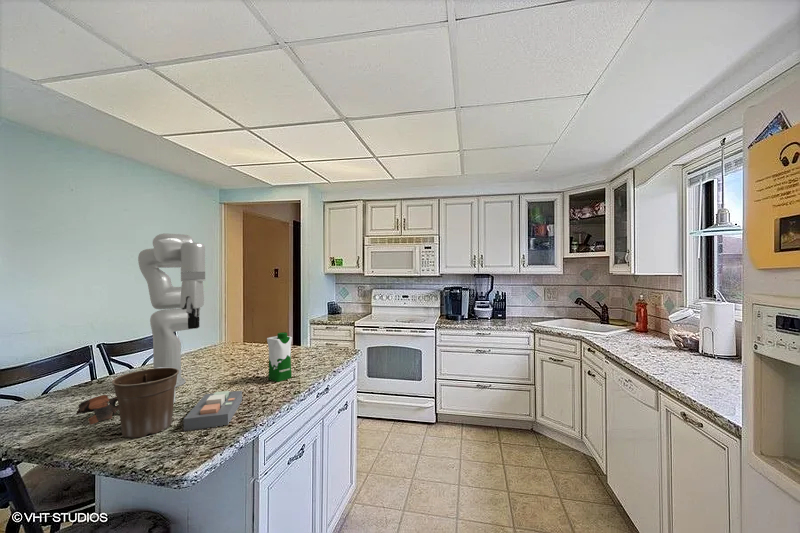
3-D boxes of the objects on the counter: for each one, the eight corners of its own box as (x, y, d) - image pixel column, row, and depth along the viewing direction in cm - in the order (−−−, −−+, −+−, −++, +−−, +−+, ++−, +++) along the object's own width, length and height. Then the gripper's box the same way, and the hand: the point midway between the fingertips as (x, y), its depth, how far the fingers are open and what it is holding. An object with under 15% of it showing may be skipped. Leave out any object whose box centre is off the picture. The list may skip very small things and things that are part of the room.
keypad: (205, 404, 121) (205, 393, 121) (242, 400, 124) (242, 390, 124) (183, 430, 100) (183, 418, 100) (228, 425, 103) (227, 413, 103)
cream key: (210, 404, 114) (210, 395, 114) (224, 403, 115) (224, 394, 115) (206, 409, 109) (206, 400, 109) (221, 408, 110) (221, 398, 111)
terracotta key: (204, 414, 108) (204, 405, 108) (220, 412, 109) (220, 403, 109) (200, 420, 104) (200, 410, 104) (216, 418, 105) (216, 408, 105)
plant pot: (159, 440, 95) (158, 382, 95) (97, 444, 93) (96, 385, 94) (190, 415, 111) (189, 366, 111) (137, 418, 110) (136, 368, 110)
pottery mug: (76, 430, 103) (70, 404, 105) (86, 432, 111) (79, 408, 112) (125, 410, 110) (118, 386, 112) (131, 413, 117) (124, 391, 119)
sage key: (215, 400, 119) (215, 392, 120) (229, 399, 121) (229, 390, 121) (211, 405, 115) (211, 396, 115) (226, 403, 116) (225, 395, 116)
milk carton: (277, 383, 142) (276, 335, 142) (264, 379, 147) (264, 333, 148) (294, 377, 149) (294, 332, 149) (282, 374, 154) (281, 330, 155)
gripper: (188, 276, 128) (189, 325, 128) (173, 277, 114) (173, 332, 113) (210, 276, 130) (211, 324, 130) (198, 277, 115) (198, 331, 115)
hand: (193, 328), depth 122 cm, fingers closed
